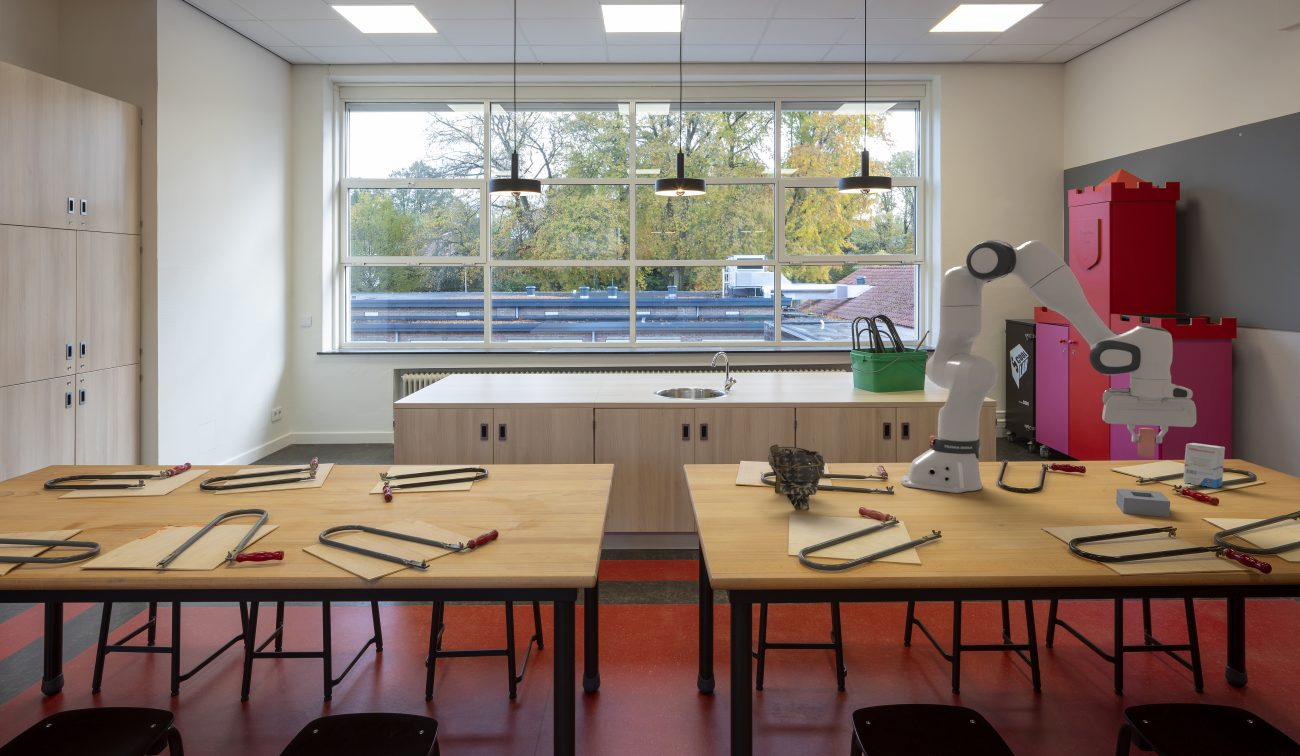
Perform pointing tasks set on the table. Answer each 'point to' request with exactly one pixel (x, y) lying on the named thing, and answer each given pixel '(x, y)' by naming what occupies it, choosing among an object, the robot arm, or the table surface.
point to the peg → (1146, 442)
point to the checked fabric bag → (796, 473)
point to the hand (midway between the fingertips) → (1146, 442)
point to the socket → (1143, 502)
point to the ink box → (1204, 465)
